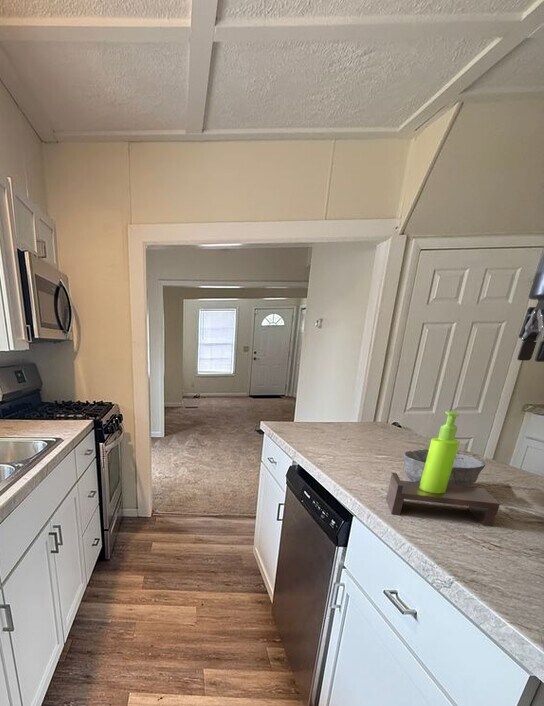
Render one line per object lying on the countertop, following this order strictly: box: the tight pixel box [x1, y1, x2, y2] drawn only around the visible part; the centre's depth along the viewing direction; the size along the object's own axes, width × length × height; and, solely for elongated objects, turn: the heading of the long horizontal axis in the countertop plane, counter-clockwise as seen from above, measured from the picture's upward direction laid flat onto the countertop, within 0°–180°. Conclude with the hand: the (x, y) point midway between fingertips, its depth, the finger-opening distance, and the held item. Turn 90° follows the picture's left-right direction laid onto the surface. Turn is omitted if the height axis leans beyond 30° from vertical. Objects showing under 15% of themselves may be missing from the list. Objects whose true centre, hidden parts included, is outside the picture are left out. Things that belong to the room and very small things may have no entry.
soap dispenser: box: [419, 410, 461, 493], centre depth 102 cm, size 6×7×20 cm
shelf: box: [385, 472, 501, 527], centre depth 105 cm, size 22×12×8 cm, turn 69°
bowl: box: [403, 449, 487, 487], centre depth 122 cm, size 21×21×10 cm
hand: (532, 361), depth 82 cm, fingers open, 8 cm apart
